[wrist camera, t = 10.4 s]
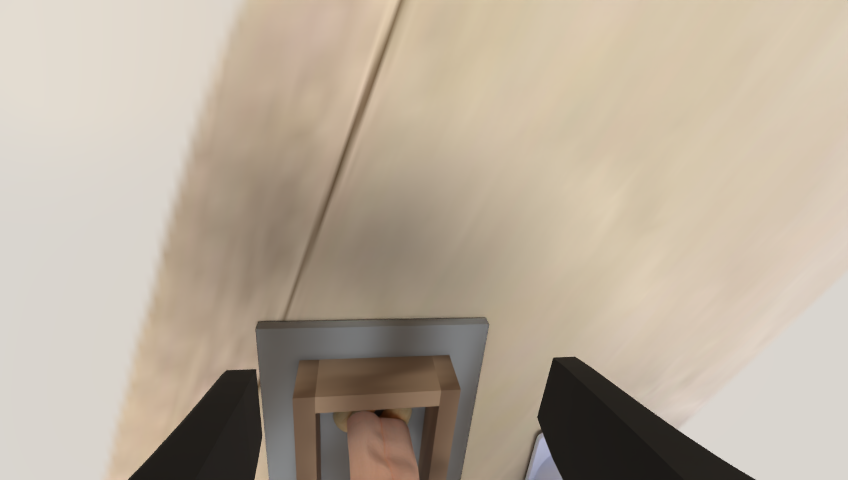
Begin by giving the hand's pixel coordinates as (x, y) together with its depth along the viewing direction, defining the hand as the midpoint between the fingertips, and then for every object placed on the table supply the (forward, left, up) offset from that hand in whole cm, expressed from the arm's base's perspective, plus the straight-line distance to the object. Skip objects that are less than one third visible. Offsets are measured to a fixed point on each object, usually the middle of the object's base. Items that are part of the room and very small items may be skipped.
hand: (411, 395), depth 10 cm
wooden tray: (0, +13, -10) cm, 17 cm away
